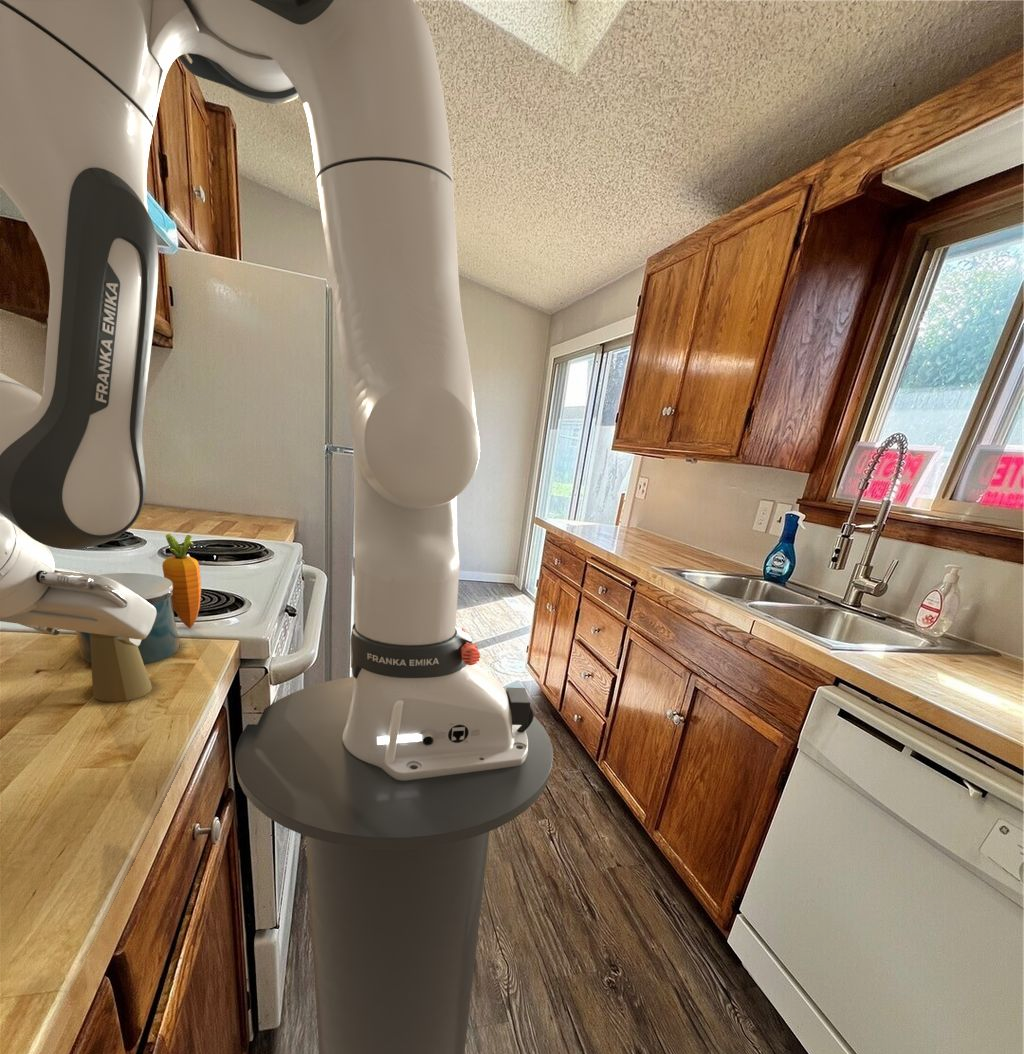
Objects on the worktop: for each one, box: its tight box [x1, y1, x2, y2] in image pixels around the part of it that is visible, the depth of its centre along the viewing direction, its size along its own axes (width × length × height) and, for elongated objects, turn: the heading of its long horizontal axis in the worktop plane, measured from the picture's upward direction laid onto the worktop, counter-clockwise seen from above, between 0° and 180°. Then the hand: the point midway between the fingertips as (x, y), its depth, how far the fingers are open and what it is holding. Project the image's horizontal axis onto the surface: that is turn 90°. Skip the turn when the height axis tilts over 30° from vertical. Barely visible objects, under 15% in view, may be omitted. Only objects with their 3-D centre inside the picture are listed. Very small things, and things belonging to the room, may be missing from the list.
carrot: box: [161, 533, 202, 629], centre depth 86 cm, size 5×5×15 cm
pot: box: [75, 572, 180, 665], centre depth 77 cm, size 12×12×10 cm
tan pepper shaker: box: [88, 633, 153, 703], centre depth 66 cm, size 6×6×11 cm
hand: (95, 634), depth 63 cm, fingers open, 8 cm apart
